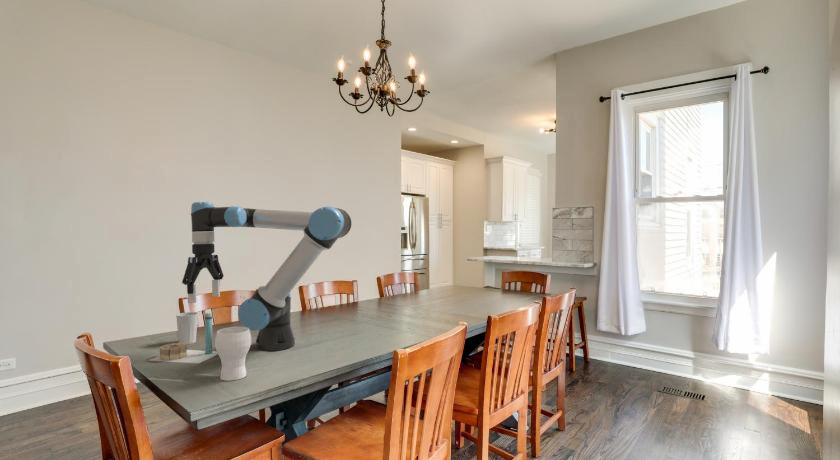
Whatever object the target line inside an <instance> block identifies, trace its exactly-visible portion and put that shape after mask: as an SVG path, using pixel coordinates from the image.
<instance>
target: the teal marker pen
mask: <svg viewBox="0 0 840 460" xmlns="http://www.w3.org/2000/svg"><path fill="white" fill-rule="evenodd" d="M204 327H205V328H204V337H205V338H204V347H205V349H204V351H205V354H212V351H213V313H212V312H207V313H205V314H204Z"/></svg>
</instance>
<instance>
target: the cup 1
mask: <svg viewBox="0 0 840 460" xmlns="http://www.w3.org/2000/svg"><path fill="white" fill-rule="evenodd" d="M175 316H176V317H175V318H176V325H177V326H176V327H177V337H178V343H185V344H186V345H189V344H190V345H191V344H194V343H196V342H197V333H198V332H197V331H198V330H197V329H198V319H199V312H196V311H195V312H194V311H190V312H188V311H187V312H182V313H181V312H180V313H177V314H176V315H175Z"/></svg>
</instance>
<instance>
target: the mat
mask: <svg viewBox="0 0 840 460" xmlns="http://www.w3.org/2000/svg"><path fill="white" fill-rule="evenodd" d="M215 356H219V355H218V353H217V350H216V351H215V350H212V354H205V350H199V349H198V350H196V349H187V356H186V357H184V358H181V359H177V360H171V361H170V360H169V361H165V360H160V355H158V356H156V357H153V358H151V359H148V362H150V361H151V362H167V363H185V364H201V363H203V362H205V361H207V360H209V359H212V358H213V357H215Z"/></svg>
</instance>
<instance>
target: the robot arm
mask: <svg viewBox="0 0 840 460" xmlns="http://www.w3.org/2000/svg"><path fill="white" fill-rule="evenodd" d="M190 209H191V213H190V217H191V219H190V220H191V242H192V245H191V253H192V254H193V255H194V256H189V257H188V258H187V265H186V268H185V271H184V275H183V278H182V280H181V284H183V285H185V286H186V294H187V303H188V304H191V303H192V304H195V303H197V284H195V283H196V281H197V279H198V276H199V274H200V273H201V272H202V270H203V269H207V271H208V273H209V274H210V276H211V277H212V278H213V279H212V280H211V290H212V291H211V293H212V294H211V295H212V298H213V297H214V298H215V297H216V298H217V297H221V290H220V289H221V288H220V286H221V285H220V284H221V280H223V278H224V273H223V270H222V266H221V263H220V261H219V255H218V254H214V253H215V244H214V242H215V228H240V227H241V228H259V229H276V230H285V231H286V230H288V231H303V237H302V238H301V240H300V241H299V242H298V243H297V245H296V246H295V247H294V249H293V250H292V251H291V252H290V254H288V256H287V258H286V259H285V260H284V261H283V263H282V264H281V265H280V266H279V268H278V269H277V270H276V272H275V273H274V274H273V275H272V277H271V278H270V279H269V281H268V282H267V283H266V285H261V286H259V287H258V288H257V289H256V291H255V292H254V293H253V294H252V295H251V296H250V298H248V299H245V300H244V301H243V302H241V304H240V305H239V308H238V310H237V316H238V320H239V322H240V324H241V325H242V327H247V328H249V330H250V331H258V333H257V336H256V339H255V347H254V348H255V349H256V350H260V351H268V352H269V351H272V352H274V351H282V350H287V349H290V348H293V347H294V346H296V338H295V335H294V333H293V329H292V326H291V311H292V310H291V309H292V307H291V304H292V303H291V301H292V300H291V299H292V297H291V292H292V291H293V289H294V288H295V287H296V286H297V284H298V283H299V282H300V280H302V278H303V277H304V275H305V274H306V273H307V272H308V270H309V269H310V268H311V266H312V265H313V264H314V262H316V261H317V259H318V258H319V256H320V255H321V254H322V253H323V251H327V250H330V249H331V248H332V247H333V245H334V244H335V243H336V242H337V240H338V239H341V238H343V237H346V236H347V234H349V232H350V231H351V228H352V219H351V216H350V215H349V213H348V212H347V211H346V210H344V209H342V208H337V207H332V206H323V207H320V208H317V209H316V210H314V211H313V212H312V211H297V210H278V209H277V210H276V209H264V208H263V209H261V208H249V207H248V208H247V207H246V208H244V207H242V206H234V205H233V206H221V207H220V206H219V207H216V206H214V203H213V202H210V201H195V202H192V204H191V208H190Z"/></svg>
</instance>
